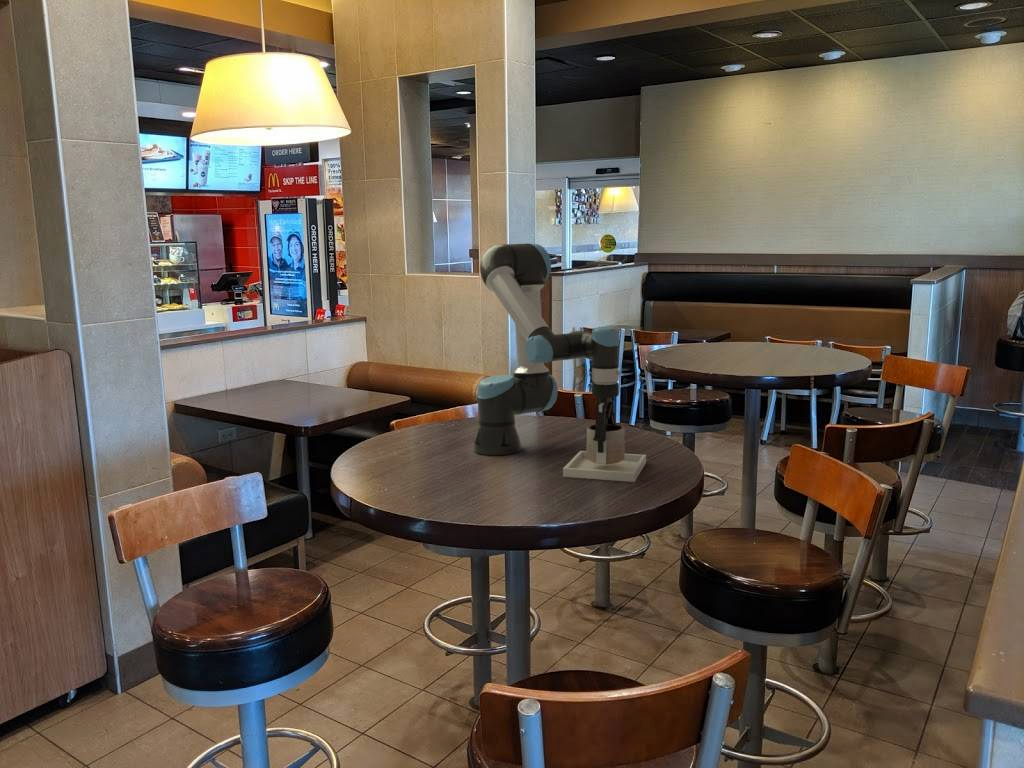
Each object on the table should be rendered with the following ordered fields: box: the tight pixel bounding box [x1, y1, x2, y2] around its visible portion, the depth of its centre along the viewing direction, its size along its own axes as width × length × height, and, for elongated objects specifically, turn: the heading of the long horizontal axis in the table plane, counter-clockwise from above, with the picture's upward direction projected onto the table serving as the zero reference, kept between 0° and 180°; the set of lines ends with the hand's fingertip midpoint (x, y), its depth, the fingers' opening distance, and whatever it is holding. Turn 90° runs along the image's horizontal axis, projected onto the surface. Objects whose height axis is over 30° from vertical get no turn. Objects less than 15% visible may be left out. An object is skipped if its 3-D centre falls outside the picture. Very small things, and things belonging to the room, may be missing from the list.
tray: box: [562, 450, 647, 483], centre depth 225 cm, size 20×20×2 cm
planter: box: [586, 423, 626, 464], centre depth 224 cm, size 11×11×10 cm
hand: (605, 457), depth 225 cm, fingers closed on planter, 11 cm apart
